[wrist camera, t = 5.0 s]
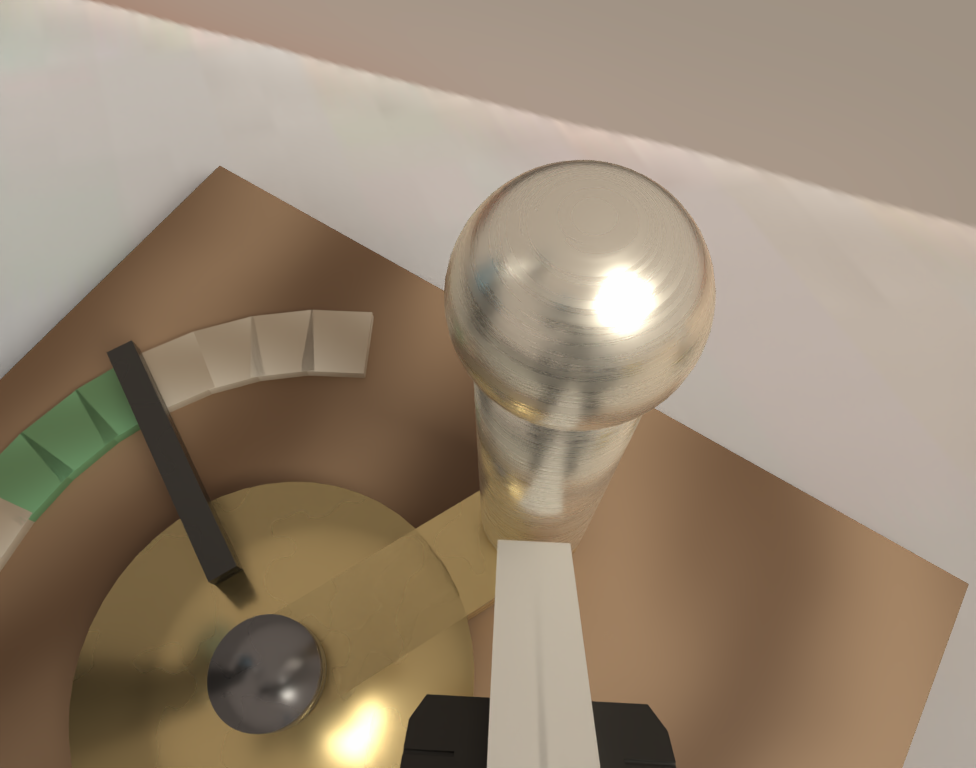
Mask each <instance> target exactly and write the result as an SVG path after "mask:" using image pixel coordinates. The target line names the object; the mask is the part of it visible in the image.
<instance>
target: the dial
mask: <svg viewBox="0 0 976 768" xmlns="http://www.w3.org/2000/svg"><path fill="white" fill-rule="evenodd" d="M715 299H716V288H715V279H714V270H713V264H712V260H711V257H710V253H709V250H708V248H707V245H706V243H705V240H704V238H703V236H702V234H701V231H700V229H699V228H698V226H697V224H696V223H695V221H694V220H693V218H692V217H691V215H690V214H689V213H688V212H687V211H686V209H685V208H684V207H683V206H682V204H681V203H680V202H679V201H678V200H677V199H676V198H675V197H674V196H673V195H672V194H671V193H670V192H669V191H667V190H666V189H665V188H664V187H662V186H661V185H660V184H658V183H657V182H655V181H653V180H652V179H650V178H648V177H647V176H645V175H642V174H640V173H638V172H636V171H634V170H632V169H629V168H626V167H623V166H620V165H617V164H612V163H608V162H602V161H594V160H572V161H562V162H556V163H551V164H547V165H543V166H540V167H537V168H534V169H532V170H529V171H527V172H525V173H522V174H521V175H519V176H517V177H515V178H514V179H512V180H510V181H508V182H507V183H505V184H504V185H502V186H501V187H500V188H498V189H497V190H496V191H494V192H493V193H492V194H491V195H490V196H489V197H488V198H487V199H486V200H485V201H484V202H483V203H482V204H481V205H480V206H479V207H478V208H477V209H476V211H475V212H474V213H473V214H472V216H471V217H470V218H469V219H468V221H467V223H466V224H465V226H464V228H463V230H462V231H461V233H460V235H459V237H458V239H457V241H456V243H455V246H454V248H453V251H452V253H451V257H450V260H449V264H448V269H447V273H446V278H445V290H444V306H445V318H446V322H447V326H448V330H449V334H450V338H451V342H452V344H453V347H454V349H455V352H456V354H457V356H458V358H459V360H460V361H461V363H462V365H463V367H464V368H465V370H466V372H467V373H468V375H469V376H470V377H471V379H472V380H473V381H474V397H475V414H476V432H477V449H478V467H479V485H480V491H478V492H476V493H475V494H473V495H471V496H470V497H468V498H466V499H465V500H463V501H461V502H460V503H458V504H456V505H455V506H453V507H451V508H449V509H448V510H446V511H444V512H443V513H441V514H439V515H438V516H436V517H434V518H433V519H431V520H429V521H428V522H426V523H424V524H423V525H421V526H419V527H418V528H416V529H415V528H414V527H413V526H412V525H411V524H410V523H408V522H407V521H406V520H405V519H404V518H402V517H401V516H400V515H399V514H397V513H396V512H394V511H393V510H391V509H389V508H388V507H386V506H385V505H383V504H382V503H380V502H378V501H376V500H374V499H371V498H369V497H367V496H365V495H363V494H360V493H358V492H355V491H351V490H348V489H345V488H341V487H338V486H333V485H327V484H321V483H315V482H281V483H270V484H264V485H259V486H255V487H250V488H245V489H242V490H239V491H236V492H233V493H230V494H227V495H224V496H222V497H219V498H217V499H215V500H213V501H211V500H210V498H209V495H208V493H207V491H206V489H205V487H204V485H203V483H202V481H201V478H200V476H199V474H198V472H197V470H196V468H195V466H194V463H193V461H192V459H191V457H190V455H189V453H188V451H187V448H186V446H185V444H184V442H183V440H182V438H181V436H180V433H179V431H178V429H177V427H176V425H175V423H174V421H173V418H172V416H171V414H170V412H169V410H168V408H167V406H166V404H165V401H164V399H163V397H162V395H161V393H160V391H159V389H158V386H157V384H156V382H155V380H154V378H153V376H152V374H151V371H150V369H149V367H148V365H147V363H146V361H145V359H144V356H143V354H142V352H141V350H140V348H139V347H138V346H137V345H136V344H135V343H134V342H133V341H132V340H131V341H129V342H127V343H125V344H123V345H121V346H119V347H117V348H115V349H113V350H111V351H108V352H106V353H107V355H108V357H109V359H110V362H111V364H112V366H113V368H114V371H115V373H116V375H117V377H118V380H119V382H120V384H121V386H122V389H123V391H124V393H125V395H126V398H127V400H128V402H129V404H130V407H131V409H132V411H133V413H134V416H135V418H136V420H137V422H138V425H139V427H140V429H141V432H142V434H143V436H144V438H145V441H146V443H147V445H148V447H149V450H150V452H151V454H152V456H153V459H154V461H155V463H156V465H157V468H158V470H159V472H160V474H161V477H162V479H163V481H164V483H165V486H166V488H167V490H168V492H169V495H170V497H171V499H172V501H173V504H174V506H175V508H176V510H177V513H178V515H179V517H180V519H179V520H177V521H176V522H174V523H173V524H172V525H171V526H169V527H168V528H167V529H166V530H164V531H163V532H162V533H161V534H159V535H158V536H157V537H155V538H154V539H153V540H152V541H151V542H150V543H149V544H148V545H147V546H146V547H145V548H144V549H143V550H142V551H141V552H140V553H139V554H138V555H137V556H136V557H135V558H134V560H133V561H132V562H131V563H130V564H129V566H128V567H127V568H126V569H125V570H124V572H123V573H122V574H121V575H120V577H119V578H118V579H117V581H116V582H115V584H114V585H113V587H112V588H111V590H110V591H109V593H108V594H107V596H106V598H105V599H104V601H103V602H102V604H101V606H100V608H99V610H98V612H97V614H96V616H95V618H94V620H93V622H92V624H91V626H90V628H89V631H88V634H87V636H86V639H85V641H84V644H83V647H82V649H81V652H80V655H79V659H78V663H77V667H76V671H75V675H74V679H73V684H72V692H71V699H70V707H69V745H70V754H71V762H72V768H400V764H401V759H402V754H403V748H404V743H405V737H406V732H407V726H408V721H409V718H410V717H411V715H412V714H413V712H414V711H415V710H416V708H417V707H418V706H419V704H420V703H421V701H422V700H423V699H424V697H425V696H426V695H427V694H433V695H451V696H469V697H474V676H475V668H474V656H473V644H472V639H471V635H470V630H469V625H468V621H469V620H470V619H472V618H474V617H475V616H477V615H478V614H480V613H481V612H483V611H484V610H486V609H488V608H489V607H491V606H492V605H494V604H495V586H496V565H497V544H498V540H515V541H535V542H553V543H570V544H571V552H572V554H573V553H575V551H576V549H577V547H578V544H579V543H580V541H581V539H582V537H583V535H584V533H585V531H586V529H587V527H588V525H589V523H590V521H591V519H592V517H593V515H594V513H595V511H596V509H597V507H598V505H599V503H600V501H601V498H602V496H603V494H604V492H605V490H606V488H607V486H608V484H609V482H610V480H611V478H612V476H613V474H614V472H615V470H616V468H617V466H618V464H619V462H620V460H621V458H622V456H623V454H624V452H625V450H626V447H627V445H628V443H629V441H630V439H631V437H632V435H633V433H634V431H635V429H636V427H637V425H638V423H639V421H640V419H641V417H642V415H644V414H645V413H647V412H649V411H650V410H652V409H653V408H655V407H656V406H657V405H659V404H660V403H662V402H663V401H664V400H666V399H667V398H668V397H669V396H670V395H671V394H672V393H673V392H674V391H676V390H677V389H678V388H679V386H680V385H681V384H682V383H683V381H684V380H685V379H686V378H687V376H688V375H689V374H690V372H691V371H692V370H693V368H694V367H695V365H696V363H697V362H698V360H699V358H700V356H701V354H702V352H703V350H704V347H705V345H706V342H707V339H708V337H709V334H710V331H711V327H712V322H713V317H714V311H715Z"/></svg>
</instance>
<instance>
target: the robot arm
mask: <svg viewBox="0 0 976 768" xmlns="http://www.w3.org/2000/svg"><path fill="white" fill-rule="evenodd" d="M400 768H676V761H675V757H674V753H673V749H672V745H671V741H670V737H669V733H668V731H667V729H666V728H665V727H664V725H663V724H662V723H661V721H660V720H659V719H658V717H657V716H656V715H655V713H654V712H653V711H652V709H651V708H650V707H649V705H648V704H635V703H616V702H597V701H591V694H590V687H589V679H588V672H587V664H586V657H585V649H584V642H583V634H582V627H581V619H580V612H579V604H578V597H577V589H576V582H575V574H574V567H573V559H572V552H571V544H570V543H553V542H535V541H515V540H498V544H497V565H496V586H495V607H494V628H493V649H492V670H491V691H490V698H488V697H469V696H451V695H433V694H427V695H426V696H425V697H424V699H423V700H422V701H421V703H420V704H419V706H418V707H417V708H416V710H415V711H414V712H413V714H412V715H411V717H410V718H409V721H408V726H407V732H406V737H405V743H404V748H403V754H402V759H401V764H400Z"/></svg>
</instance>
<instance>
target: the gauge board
mask: <svg viewBox="0 0 976 768" xmlns="http://www.w3.org/2000/svg"><path fill="white" fill-rule="evenodd" d="M131 340H132V341H133V342H134V343H135V344H136V345H137V346H138V347H139V348H140V350H141V352H142V354H143V356H144V359H145V361H146V363H147V365H148V367H149V369H150V371H151V374H152V376H153V378H154V380H155V382H156V384H157V386H158V389H159V391H160V393H161V395H162V397H163V399H164V401H165V404H166V406H167V408H168V410H169V412H170V414H171V416H172V418H173V421H174V423H175V425H176V427H177V429H178V431H179V433H180V436H181V438H182V440H183V442H184V444H185V446H186V448H187V451H188V453H189V455H190V457H191V459H192V461H193V463H194V466H195V468H196V470H197V472H198V474H199V476H200V478H201V481H202V483H203V485H204V487H205V489H206V491H207V493H208V495H209V498H210V500H211V501H213V500H215V499H217V498H219V497H222V496H224V495H227V494H230V493H233V492H236V491H239V490H242V489H245V488H250V487H255V486H259V485H264V484H270V483H281V482H315V483H321V484H327V485H333V486H338V487H341V488H345V489H348V490H351V491H355V492H358V493H360V494H363V495H365V496H367V497H369V498H371V499H374V500H376V501H378V502H380V503H382V504H383V505H385V506H386V507H388V508H389V509H391V510H393V511H394V512H396V513H397V514H399V515H400V516H401V517H402V518H404V519H405V520H406V521H407V522H408V523H410V524H411V525H412V526H413V527H414V528H415V529H416V528H418V527H419V526H421V525H423V524H424V523H426V522H428V521H429V520H431V519H433V518H434V517H436V516H438V515H439V514H441V513H443V512H444V511H446V510H448V509H449V508H451V507H453V506H455V505H456V504H458V503H460V502H461V501H463V500H465V499H466V498H468V497H470V496H471V495H473V494H475V493H476V492H478V491H480V485H479V467H478V449H477V432H476V414H475V397H474V381H473V380H472V379H471V377H470V376H469V375H468V373H467V372H466V370H465V368H464V367H463V365H462V363H461V361H460V360H459V358H458V356H457V354H456V352H455V349H454V347H453V344H452V342H451V338H450V334H449V330H448V326H447V322H446V318H445V306H444V291H443V290H441V289H440V288H438V287H436V286H434V285H432V284H431V283H429V282H427V281H425V280H423V279H422V278H420V277H418V276H416V275H415V274H413V273H411V272H409V271H407V270H406V269H404V268H402V267H400V266H398V265H397V264H395V263H393V262H391V261H389V260H388V259H386V258H384V257H382V256H380V255H379V254H377V253H375V252H373V251H372V250H370V249H368V248H366V247H364V246H363V245H361V244H359V243H357V242H355V241H354V240H352V239H350V238H348V237H346V236H345V235H343V234H341V233H339V232H338V231H336V230H334V229H332V228H330V227H329V226H327V225H325V224H323V223H321V222H320V221H318V220H316V219H314V218H312V217H311V216H309V215H307V214H305V213H304V212H302V211H300V210H298V209H296V208H295V207H293V206H291V205H289V204H287V203H286V202H284V201H282V200H280V199H278V198H277V197H275V196H273V195H271V194H270V193H268V192H266V191H264V190H262V189H261V188H259V187H257V186H255V185H253V184H252V183H250V182H248V181H246V180H244V179H243V178H241V177H239V176H237V175H236V174H234V173H232V172H230V171H228V170H227V169H225V168H223V167H221V166H219V167H218V168H217V169H216V170H215V171H214V172H213V173H212V174H211V175H210V176H209V177H208V178H207V179H206V180H204V181H203V182H202V183H201V184H200V185H199V186H198V187H197V188H196V189H195V190H194V191H193V192H192V193H191V194H190V195H189V196H188V197H187V198H186V199H185V200H184V201H183V202H182V203H181V204H180V205H179V206H178V207H177V208H176V209H175V210H174V211H173V212H172V213H171V214H170V215H169V216H168V217H167V218H166V219H165V220H163V221H162V222H161V223H160V224H159V225H158V226H157V227H156V228H155V229H154V230H153V231H152V232H151V233H150V234H149V235H148V236H147V237H146V238H145V239H144V240H143V241H142V242H141V243H140V244H139V245H138V246H137V247H136V248H135V249H134V250H133V251H132V252H131V253H130V254H129V255H128V256H127V257H126V258H125V259H124V260H123V261H121V262H120V263H119V264H118V265H117V266H116V267H115V268H114V269H113V270H112V271H111V272H110V273H109V274H108V275H107V276H106V277H105V278H104V279H103V280H102V281H101V282H100V283H99V284H98V285H97V286H96V287H95V288H94V289H93V290H92V291H91V292H90V293H89V294H88V295H87V296H86V297H85V298H84V299H83V300H82V301H80V302H79V303H78V304H77V305H76V306H75V307H74V308H73V309H72V310H71V311H70V312H69V313H68V314H67V315H66V316H65V317H64V318H63V319H62V320H61V321H60V322H59V323H58V324H57V325H56V326H55V327H54V328H53V329H52V330H51V331H50V332H49V333H48V334H47V335H46V336H45V337H44V338H43V339H42V340H41V341H40V342H38V343H37V344H36V345H35V346H34V347H33V348H32V349H31V350H30V351H29V352H28V353H27V354H26V355H25V356H24V357H23V358H22V359H21V360H20V361H19V362H18V363H17V364H16V365H15V366H14V367H13V368H12V369H11V370H10V371H9V372H8V373H7V374H6V375H5V376H4V377H3V378H2V379H1V380H0V768H72V762H71V754H70V745H69V707H70V699H71V692H72V684H73V679H74V675H75V671H76V667H77V663H78V659H79V655H80V652H81V649H82V647H83V644H84V641H85V639H86V636H87V634H88V631H89V628H90V626H91V624H92V622H93V620H94V618H95V616H96V614H97V612H98V610H99V608H100V606H101V604H102V602H103V601H104V599H105V598H106V596H107V594H108V593H109V591H110V590H111V588H112V587H113V585H114V584H115V582H116V581H117V579H118V578H119V577H120V575H121V574H122V573H123V572H124V570H125V569H126V568H127V567H128V566H129V564H130V563H131V562H132V561H133V560H134V558H135V557H136V556H137V555H138V554H139V553H140V552H141V551H142V550H143V549H144V548H145V547H146V546H147V545H148V544H149V543H150V542H151V541H152V540H153V539H154V538H155V537H157V536H158V535H159V534H161V533H162V532H163V531H164V530H166V529H167V528H168V527H169V526H171V525H172V524H173V523H174V522H176V521H177V520H179V519H180V517H179V515H178V513H177V510H176V508H175V506H174V504H173V501H172V499H171V497H170V495H169V492H168V490H167V488H166V486H165V483H164V481H163V479H162V477H161V474H160V472H159V470H158V468H157V465H156V463H155V461H154V459H153V456H152V454H151V452H150V450H149V447H148V445H147V443H146V441H145V438H144V436H143V434H142V432H141V429H140V427H139V425H138V422H137V420H136V418H135V416H134V413H133V411H132V409H131V407H130V404H129V402H128V400H127V398H126V395H125V393H124V391H123V389H122V386H121V384H120V382H119V380H118V377H117V375H116V373H115V371H114V368H113V366H112V364H111V362H110V359H109V357H108V355H107V353H106V352H108V351H111V350H113V349H115V348H117V347H119V346H121V345H123V344H125V343H127V342H129V341H131ZM572 559H573V567H574V574H575V582H576V589H577V597H578V604H579V612H580V619H581V627H582V634H583V642H584V649H585V657H586V664H587V672H588V679H589V687H590V694H591V701H597V702H616V703H635V704H648V705H649V707H650V708H651V709H652V711H653V712H654V713H655V715H656V716H657V717H658V719H659V720H660V721H661V723H662V724H663V725H664V727H665V728H666V729H667V731H668V733H669V737H670V741H671V745H672V749H673V753H674V757H675V761H676V768H902V767H903V764H904V761H905V759H906V756H907V753H908V750H909V747H910V745H911V742H912V739H913V736H914V734H915V731H916V728H917V725H918V723H919V720H920V717H921V714H922V712H923V709H924V706H925V703H926V700H927V698H928V695H929V692H930V689H931V687H932V684H933V681H934V678H935V676H936V673H937V670H938V667H939V665H940V662H941V659H942V656H943V654H944V651H945V648H946V645H947V642H948V640H949V637H950V634H951V631H952V629H953V626H954V623H955V620H956V618H957V615H958V612H959V609H960V607H961V604H962V601H963V598H964V596H965V593H966V590H967V587H968V583H966V582H964V581H962V580H960V579H959V578H957V577H955V576H953V575H951V574H950V573H948V572H946V571H944V570H943V569H941V568H939V567H937V566H935V565H934V564H932V563H930V562H928V561H926V560H925V559H923V558H921V557H919V556H917V555H916V554H914V553H912V552H910V551H909V550H907V549H905V548H903V547H901V546H900V545H898V544H896V543H894V542H892V541H891V540H889V539H887V538H885V537H883V536H882V535H880V534H878V533H876V532H875V531H873V530H871V529H869V528H867V527H866V526H864V525H862V524H860V523H858V522H857V521H855V520H853V519H851V518H849V517H848V516H846V515H844V514H842V513H840V512H839V511H837V510H835V509H833V508H832V507H830V506H828V505H826V504H824V503H823V502H821V501H819V500H817V499H815V498H814V497H812V496H810V495H808V494H806V493H805V492H803V491H801V490H799V489H798V488H796V487H794V486H792V485H790V484H789V483H787V482H785V481H783V480H781V479H780V478H778V477H776V476H774V475H772V474H771V473H769V472H767V471H765V470H764V469H762V468H760V467H758V466H756V465H755V464H753V463H751V462H749V461H747V460H746V459H744V458H742V457H740V456H738V455H737V454H735V453H733V452H731V451H730V450H728V449H726V448H724V447H722V446H721V445H719V444H717V443H715V442H713V441H712V440H710V439H708V438H706V437H704V436H703V435H701V434H699V433H697V432H696V431H694V430H692V429H690V428H688V427H687V426H685V425H683V424H681V423H679V422H678V421H676V420H674V419H672V418H670V417H669V416H667V415H665V414H663V413H662V412H660V411H658V410H656V409H654V408H653V409H652V410H650V411H649V412H647V413H645V414H644V415H642V417H641V419H640V421H639V423H638V425H637V427H636V429H635V431H634V433H633V435H632V437H631V439H630V441H629V443H628V445H627V447H626V450H625V452H624V454H623V456H622V458H621V460H620V462H619V464H618V466H617V468H616V470H615V472H614V474H613V476H612V478H611V480H610V482H609V484H608V486H607V488H606V490H605V492H604V494H603V496H602V498H601V501H600V503H599V505H598V507H597V509H596V511H595V513H594V515H593V517H592V519H591V521H590V523H589V525H588V527H587V529H586V531H585V533H584V535H583V537H582V539H581V541H580V543H579V544H578V547H577V549H576V551H575V553H573V554H572ZM494 607H495V604H494V605H492V606H491V607H489V608H488V609H486V610H484V611H483V612H481V613H480V614H478V615H477V616H475V617H474V618H472V619H470V620H469V621H468V625H469V630H470V635H471V639H472V644H473V656H474V668H475V676H474V697H488V698H490V691H491V670H492V649H493V628H494Z"/></svg>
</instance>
